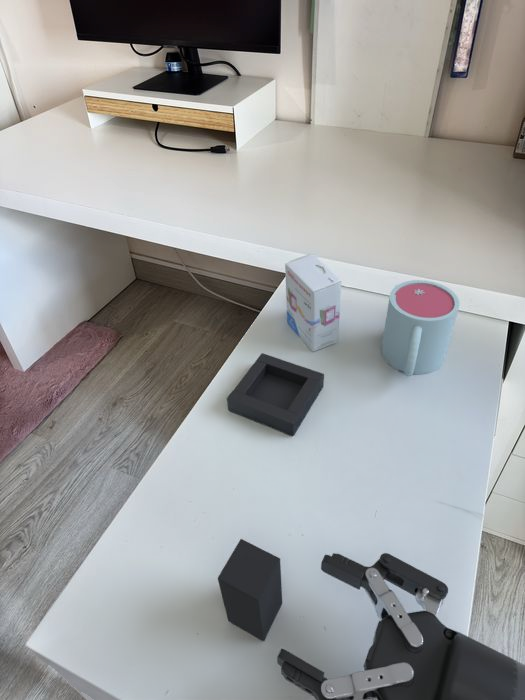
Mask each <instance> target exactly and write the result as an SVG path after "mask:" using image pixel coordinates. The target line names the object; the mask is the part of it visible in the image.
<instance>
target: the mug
mask: <svg viewBox="0 0 525 700" xmlns="http://www.w3.org/2000/svg"><path fill="white" fill-rule="evenodd" d="M459 308H460V299H459V297H458V296H457V294H456V293H455V292H454V291H453V290H451V288H449V287H447V286H446V285H443V284H442V283H439V282H436V281H435V282H434V281H431V280H425V279H415V280H407V281H404V282H403V281H402V282H401V283H399V284H397V285H396V286H394V287H393V288H392V289H391V291H390V293H389V297H388V303H387V311H386V316H385V317H386V318H385V323H384V330H383V336H382V342H381V348H380V349H381V350H380V351H381V355H382V357H383V359H384V361H385V362H386V363H387V364H388V365H390V367H392V368H394V369H395V370H398V371H400V372H403V373H404V375H405V376H406V377H412V376H413V375H424V374H431V373H433V372H435V371H437V370H438V369H440V368H441V367H442V366H443V364H444V362H445V358H446V356H447V352H448V348H449V345H450V342H451V338H452V334H453V331H454V327H455V324H456V323H455V322H456V319H457V317H458V312H459Z"/></svg>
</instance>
